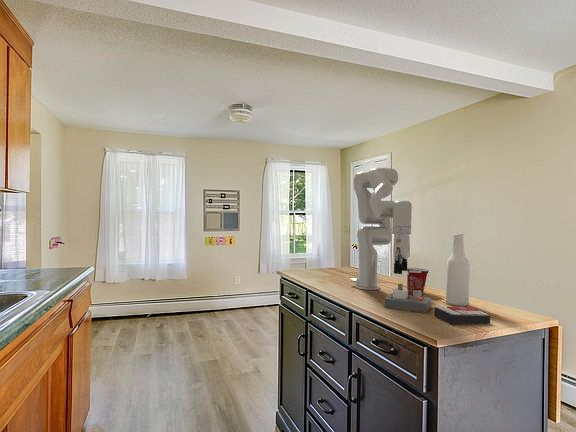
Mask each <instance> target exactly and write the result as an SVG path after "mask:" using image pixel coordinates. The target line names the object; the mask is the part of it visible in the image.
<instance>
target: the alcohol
mask: <svg viewBox="0 0 576 432" xmlns="http://www.w3.org/2000/svg"><path fill="white" fill-rule="evenodd" d="M452 238H453V240H452V241H453V242H452V252H451V253H450V254H451V255H450V256H449V257H448V259H447V261H446V276H445V277H446V279H445V281H446V283H445V285H446V286H445V292H446V293H445V302H446V304H448V306H449V305H450V306H452V307H468V305H469V304H470V261H469V260H468V257H466V255H465V248H464V247H465V245H464V234H463V233H453V237H452Z"/></svg>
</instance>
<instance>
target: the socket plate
mask: <svg viewBox="0 0 576 432" xmlns="http://www.w3.org/2000/svg"><path fill="white" fill-rule="evenodd" d="M383 299H384V301H383V305H384V306H383V307H384V308H386V309H387V308H388V309H395V310H401V311H402V310H403V311H408V312H416V313H422V314H426V313H427V312H428V311H429V309H430V308H431V307H432V305H431V304H432V297H427V296H426V297H425V296H424V297H423V296H422V297H418V296H410V295H408V299H407V300H404V299H396V298H393V292H392V293H390V294H388V295H387V296H385V298H383Z"/></svg>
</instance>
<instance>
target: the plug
mask: <svg viewBox="0 0 576 432" xmlns="http://www.w3.org/2000/svg"><path fill="white" fill-rule="evenodd" d="M403 285H404V284H403V283H400V282H399V283H397V287H395V288H393V289H392V293H393V298H396V299H404V300H407V299H408V289H407V288H403V287H404V286H403Z"/></svg>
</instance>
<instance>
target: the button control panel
mask: <svg viewBox="0 0 576 432" xmlns="http://www.w3.org/2000/svg"><path fill="white" fill-rule="evenodd" d="M433 311H434V312H433V317H434V318H436V319H439V320H440V321H442V322H445V323H447V324H449V325H450V326H457V325H459V326H460V325H488V324H487V323H490V324H491V316H490V315H489V313H486V312H483V311H481V310H478V309H475V308H473V307H471V306H470V307H469V306H449V305H448V306H434V310H433Z"/></svg>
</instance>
